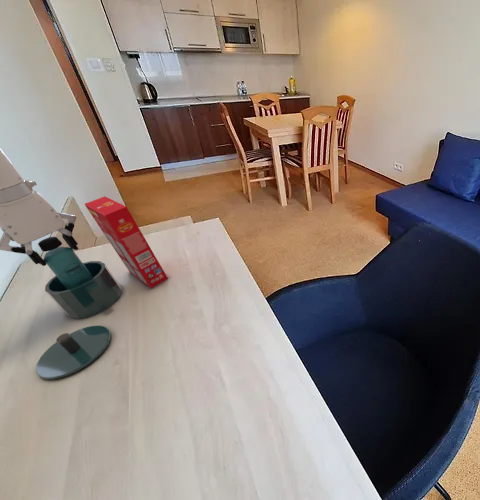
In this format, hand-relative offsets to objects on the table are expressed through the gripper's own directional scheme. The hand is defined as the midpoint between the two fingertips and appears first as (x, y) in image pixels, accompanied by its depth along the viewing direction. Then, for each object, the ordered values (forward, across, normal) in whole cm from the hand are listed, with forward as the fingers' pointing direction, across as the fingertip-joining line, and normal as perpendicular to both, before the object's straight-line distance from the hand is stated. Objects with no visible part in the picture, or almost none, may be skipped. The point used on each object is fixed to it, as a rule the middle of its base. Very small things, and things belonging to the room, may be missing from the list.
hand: (59, 255), depth 79 cm
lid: (+16, +12, +16) cm, 26 cm away
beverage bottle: (+15, 0, 0) cm, 15 cm away
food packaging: (+17, -14, +4) cm, 22 cm away
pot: (+17, 0, 0) cm, 17 cm away
